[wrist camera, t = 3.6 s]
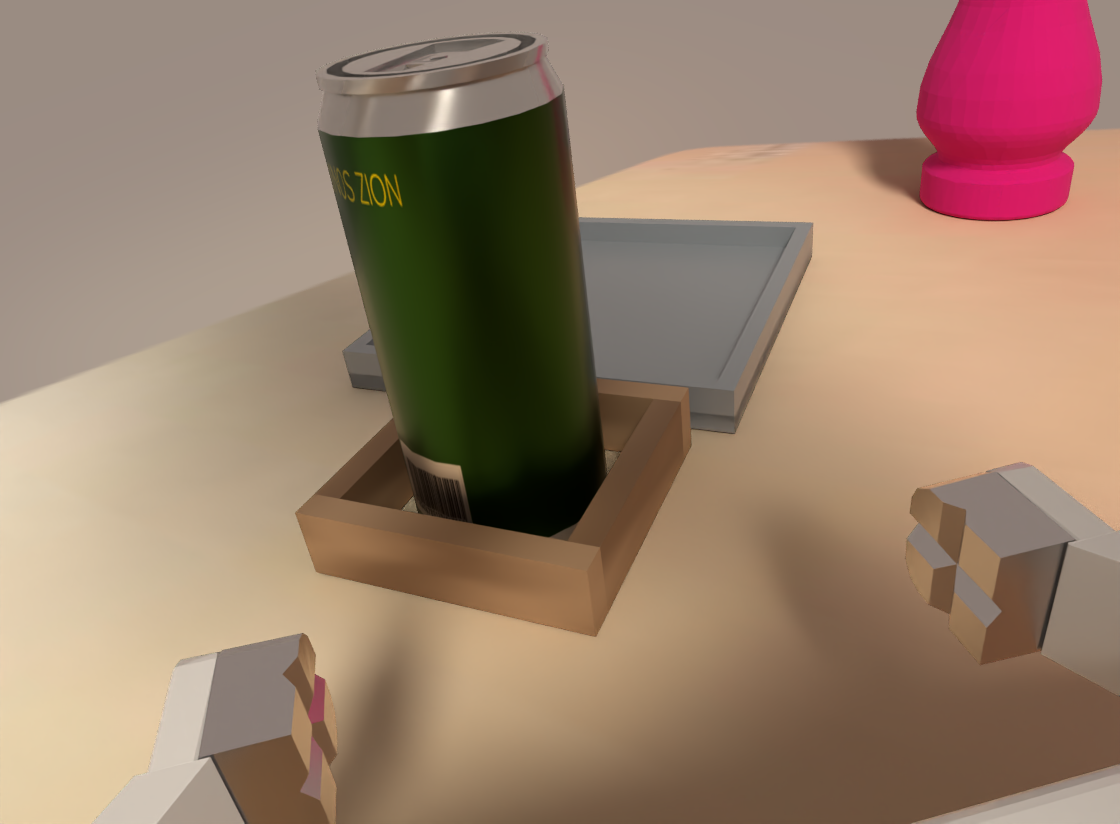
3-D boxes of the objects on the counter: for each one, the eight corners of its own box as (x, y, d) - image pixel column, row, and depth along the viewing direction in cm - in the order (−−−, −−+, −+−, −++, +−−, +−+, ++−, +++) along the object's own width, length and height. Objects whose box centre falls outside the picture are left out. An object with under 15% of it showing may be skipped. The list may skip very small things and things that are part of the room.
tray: (352, 387, 31) (342, 350, 31) (517, 245, 42) (512, 215, 41) (734, 433, 26) (734, 390, 25) (812, 256, 37) (813, 222, 36)
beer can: (547, 593, 21) (459, 81, 15) (381, 539, 23) (247, 84, 17) (642, 472, 25) (604, 25, 18) (490, 437, 27) (412, 34, 21)
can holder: (316, 571, 23) (295, 512, 22) (460, 415, 29) (449, 363, 28) (595, 636, 19) (586, 571, 18) (691, 444, 26) (688, 387, 24)
